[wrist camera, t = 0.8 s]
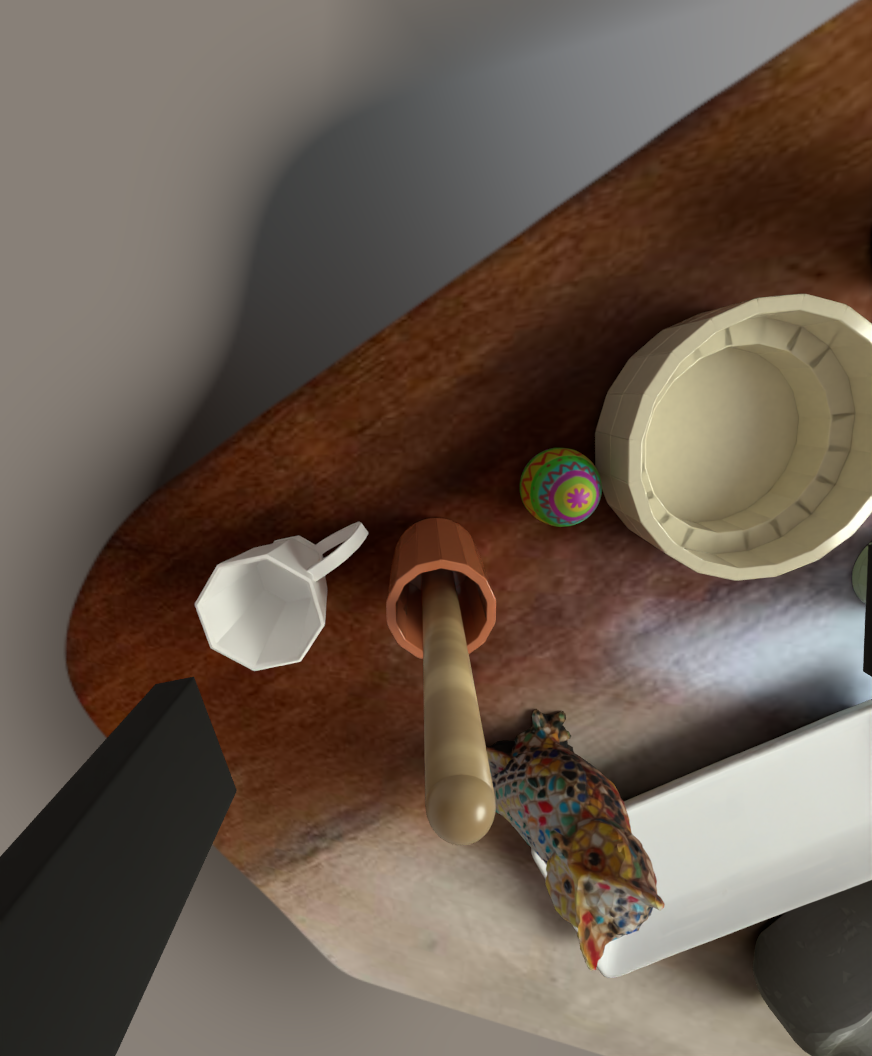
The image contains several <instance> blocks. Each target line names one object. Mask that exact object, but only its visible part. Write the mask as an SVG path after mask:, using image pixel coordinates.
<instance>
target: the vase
mask: <svg viewBox="0 0 872 1056" xmlns="http://www.w3.org/2000/svg"><path fill="white" fill-rule="evenodd" d="M869 544H872V542H870V543H869ZM869 544H868V545H869ZM868 545H867V546H866V547H865V549H864V550H863V551H862V552H861V554H860V555H859V557H858V559H857V560H856V563H855V565H854V568H853V573H852V584H853V588H854V591H855V593H856V595H857V596H858V598H859V599H860V600H861V601H862V602H864V603H865V604H866V589H867V564H868Z"/></svg>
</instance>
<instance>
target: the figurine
mask: <svg viewBox="0 0 872 1056" xmlns="http://www.w3.org/2000/svg"><path fill="white" fill-rule="evenodd" d="M565 720H566V715H565V713H564V712H563V711H562V712H559V713H557V714H554V715H545V714H543V713H541V712H540V711H538V710H537V709H536V710H534V711H533V714H532V721H533V726H532V727H531V728H530V729H529V730H527V731H525V732H523V733H521V734H519V735H518V736H516V739H515V741H499V742H496V743H495V744H494V745H493V746H490V747H488V746H486V751H487V756H488V762H489V767H490V772H491V778H492V783H493V789H494V794H495V801H496V811H495V812H497V813H498V814H500V815H503V816H504V818H505V819H506V820H507V821H509V822H510V823H511V824H512V826H513V827H514V828H515V829H516V830H517V831H518V832H519V834H520V835H521V836H522V838H523V839H524V840H525V841H526V842H527V844H528V845H529V846H530V847H532V848H533V850H534V851H535V853H536V854H537V855H538V856H539V857H540V858H541V860H543V861H544V862H545V864H546V865H547V866H546V872H547V877H546V883H545V884H546V887H547V890H548V893H549V895H550V897H551V900H552V902H553V905H554V907H555V910H556V911H557V912H558V913H559V914H560V915H561V916H562V917H563V919H564V920H566V921H568V922H569V923H571V924H572V925H573V926H574V927H576V928H578V932H577V936H578V938H579V940H580V949H581V951H582V954H583V957H584V960H585V962H586V964H587V966H588V968H589V969H590V970H591V971H593V970H596V967H597V963H598V960H600V959H601V957H602V956H603V953H604V949H605V945H606V944H608V943H609V942H611V941H613V940H615V939H618V938H620V937H622V936H624V935H628V934H631V933H633V932H635V931H639V929H640V926H641V925H642V924H643V922H645V921H646V920H647V919H648V917H649V916H651V913H652V910H653V907H654V908H656V909H658V910H659V911H661V910H662V909H663V908H664V905H665V904H664V902H663V900H662V899H661V897H660V896H658V895H657V887H656V884H657V880H656V876H655V873H654V870H653V866H652V862H651V860H650V858H649V856H648V854H647V853H646V851H645V850H644V848H643V845H642V843H641V842H640V841H639V840H638V839H637V838H636V837H635V836H634V835H633V834H632V832H631V826H630V822H629V817H628V813H627V811H626V807H625V804H624V802H623V800H622V799H621V798H620V795H619V792H618V790H617V789H616V787H615V785H614V783H612V782H611V781H610V780H609V779H608V778H606V777H605V776H604V775H603V774H602V773H601V772H600V771H599V770H597V769H596V768H594V767H593V766H592V765H591V764H590V763H588V762H587V761H585V760H584V759H583V758H581V757H580V756H578V755H577V754H575V753H574V752H573V747H571V746H570V745H568V744H567V740H568V739H570V737H571V735H570V734H569V732H568V731H566V730H565V727H563V726H562V725H563V723H564V722H565Z"/></svg>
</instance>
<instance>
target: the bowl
mask: <svg viewBox="0 0 872 1056" xmlns="http://www.w3.org/2000/svg"><path fill="white" fill-rule="evenodd" d="M595 467H596V469H597V470H598V472H599V475H600V478H601V483H602V490H603V492H604V495H605V498H606V501H607V502H608V504H609V506H610V507H611V508H612V509H613V511H614V512H615V513H616V514H617V516H618V517H619V518H620V519H621V521H622V522H623V523H624V524H625V526H626V527H627V528H628V529H629V530H631V531H632V532H634V533H635V534H637V535H638V536H640V537H641V538H643V539H644V540H646V541H647V542H649V543H650V544H652V545H653V546H655V547H656V548H658V549H659V550H661V551H662V552H664V553H665V554H667V555H669V556H670V557H672V558H674V559H675V560H677V561H679V562H680V563H682V564H684V565H685V566H687V567H689V568H690V569H692V570H694V571H695V572H698V573H701V574H706V575H711V576H716V577H720V578H725V579H730V580H735V581H738V580H748V579H758V578H767V577H777V576H779V575H782V574H784V573H787V572H789V571H792V570H794V569H797V568H799V567H802V566H804V565H807V564H810V563H812V562H815V561H817V560H819V559H820V558H822V557H823V556H824V555H826V554H827V553H829V552H830V551H831V550H833V549H834V548H835V547H837V546H838V545H840V544H841V543H842V542H844V541H845V540H846V539H848V538H849V537H850V536H852V535H853V534H854V533H855V532H856V531H857V529H858V528H859V527H860V526H861V525H862V523H863V522H864V521H865V520H866V519H867V517H868V516H869V515H870V514H871V513H872V324H871V323H870V322H869V321H868V320H866V319H865V318H864V317H862V316H861V315H860V314H858V313H857V312H856V311H854V310H853V309H852V308H851V307H849V306H847V305H846V304H842V303H839V302H835V301H831V300H827V299H824V298H820V297H816V296H812V295H808V294H791V295H781V296H771V297H761V298H755V299H751V300H747V301H744V302H740V303H737V304H733V305H729V306H726V307H722V308H719V309H715V310H711V311H708V312H704V313H701V314H698V315H695V316H693V317H691V318H689V319H686V320H684V321H682V322H680V323H677V324H675V325H673V326H671V327H668V328H666V329H664V330H663V331H661V332H659V333H658V334H657V335H656V336H655V337H654V338H652V339H651V340H650V341H649V342H648V343H647V344H645V345H644V346H643V347H642V348H641V349H640V350H639V351H637V352H636V353H635V354H634V355H633V356H632V357H630V359H629V360H628V361H627V363H626V365H625V366H624V368H623V369H622V371H621V372H620V374H619V375H618V377H617V378H616V380H615V381H614V383H613V385H612V386H611V388H610V389H609V391H608V392H607V395H606V398H605V401H604V405H603V408H602V411H601V415H600V418H599V421H598V425H597V428H596V432H595Z"/></svg>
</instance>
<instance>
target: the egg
mask: <svg viewBox="0 0 872 1056" xmlns="http://www.w3.org/2000/svg"><path fill="white" fill-rule="evenodd" d="M601 494H602V483H601V478H600V475H599V472H598V470H597V469H596V467H595V465H594V464H593V463H592V462H591V461H590V460H589V459H588V458H587V457H586V456H585V455H583V454H582V453H580V452H578V451H575V450H572V449H569V448H551V449H547V450H545V451H542V452H540V453H539V454H537V455H536V456H534V457H533V458H532V459H531V460H530V461H529V462H528V463H527V465H526V466H525V468H524V470H523V472H522V475H521V478H520V495H521V499H522V501H523V503H524V505H525V507H526V509H527V510H528V511H529V512H530V513H531V514H532V515H533V516H534V517H535V518H536V519H538V520H539V521H541V522H543V523H545V524H548V525H552V526H559V527H565V526H571V525H575V524H578V523H580V522H582V521H584V520H585V519H587V518H588V517H589V516H590V515H591V514H592V513H593V512H594V511H595V509H596V508H597V506H598V504H599V501H600V498H601Z"/></svg>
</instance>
